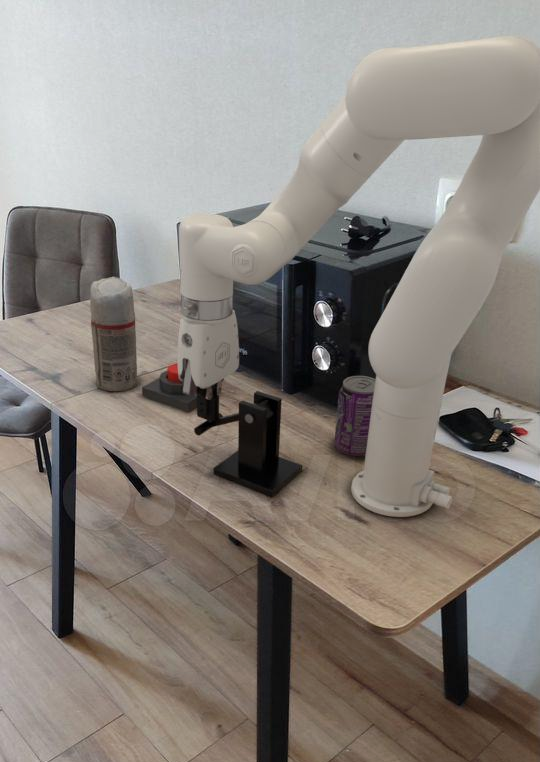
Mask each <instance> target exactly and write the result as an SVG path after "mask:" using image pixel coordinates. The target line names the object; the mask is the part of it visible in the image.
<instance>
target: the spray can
mask: <svg viewBox="0 0 540 762" xmlns="http://www.w3.org/2000/svg"><path fill="white" fill-rule="evenodd" d="M89 292H90V293H89V299H90V300H89V308H90V328H91V338H92V339H91V340H92V348H93V350H92V352H93V359H94V361H93V362H94V371H95V385H96V387H97V388H99V389H100V390H104V391H108V392H121V391H122V392H123V391H127V390H131V389H133V388H135V387H136V386H137V384H138V379H137V378H138V377H137V376H138V364H137V333H136V332H137V331H136V313H135V305H134V304H135V302H134V294H133V287H132V285H131V283H128V282H125V280H124V279H122V278H120V277H117V276H115V275H114V276H110V277H107V278H101V279H100V280H94V281H92V282H91V285H90V290H89Z"/></svg>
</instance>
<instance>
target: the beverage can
mask: <svg viewBox="0 0 540 762" xmlns="http://www.w3.org/2000/svg"><path fill="white" fill-rule="evenodd" d="M375 380H376V378H374V377H371V376H366V375H352V376H348V377H346V378H345V379H343V381H342V386H341V388H340V389H339V392H338V399H337V410H336V419H335V429H334V441H333V444H334V446H335V448H336V449H337V450H338V451H340V452H341V453H344V454H345V455H349V456H356V457H360V456H366V448H367V440H368V433H369V425H370V417H371V409H372V401H373V395H374V387H375Z"/></svg>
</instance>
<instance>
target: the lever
mask: <svg viewBox="0 0 540 762" xmlns="http://www.w3.org/2000/svg"><path fill="white" fill-rule="evenodd" d="M253 404H255V405H258V406H261V407H264V408H267V419H268V418H269V417H271V416H272V415H273V414H274V413H273V411H272V408H271V406H270V404H269V401H268V400H265V401H261V402H257V403H254V402H253ZM234 422H239V412H237V413H232V414H228V415H224V416H223V413H221V412H219V417H218V418H217V419H215V420H214V421H209V420H206V419H205V420H204V421H203V422H201V423H200V424H198V425H197V426H195V427H194V428H193V432H194V434H195V435H196V436H199V437H200V436H202V435H203V434H205V433H206V432H207V431H209V430H211V429H212V428H214V427H219V426H222V425H223V426H224V425H227V424H230V423H234Z"/></svg>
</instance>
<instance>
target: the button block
mask: <svg viewBox="0 0 540 762" xmlns="http://www.w3.org/2000/svg"><path fill="white" fill-rule="evenodd" d="M183 386H184V382H172V381H169V380H168V373H167V370H164V371H163V372H161V373H160V375H159V376H158V378H156V379H154V380H153V381H151V382H149V383H146V384H144V385H143V386H141V394H142V397H143V398H147V399H148V400H152V401H155V402H157V403H160V404H163V405H166V406H168V407H171V408H175V409H178V410H180V411H183V412H186V413H190V412H192V411H193V410H195V409H197V396H196V395H188V394H185V393H183Z"/></svg>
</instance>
